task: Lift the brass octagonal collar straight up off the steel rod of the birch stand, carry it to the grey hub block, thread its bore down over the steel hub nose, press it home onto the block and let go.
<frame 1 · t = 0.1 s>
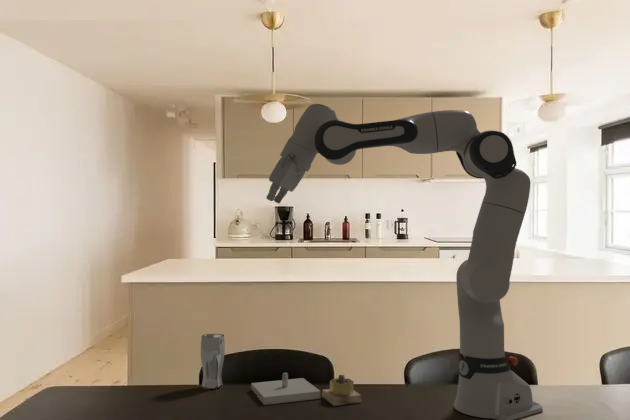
hand: (272, 201, 144), 54 cm above the table, tool tilted 30°, fingers open, 8 cm apart
stand: (341, 399, 142), on the table
hub block: (284, 394, 146), on the table
collar: (341, 392, 142), point 2 cm above the table, touching stand
beer glass: (212, 387, 153), on the table
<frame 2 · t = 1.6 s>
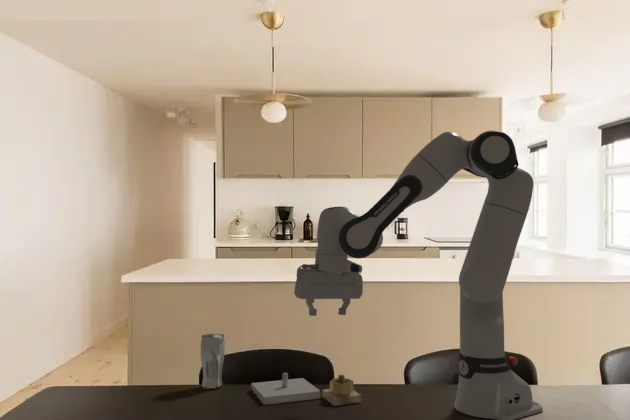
hand: (327, 315, 143), 23 cm above the table, tool pointing down, fingers open, 8 cm apart
nothing on the table moved.
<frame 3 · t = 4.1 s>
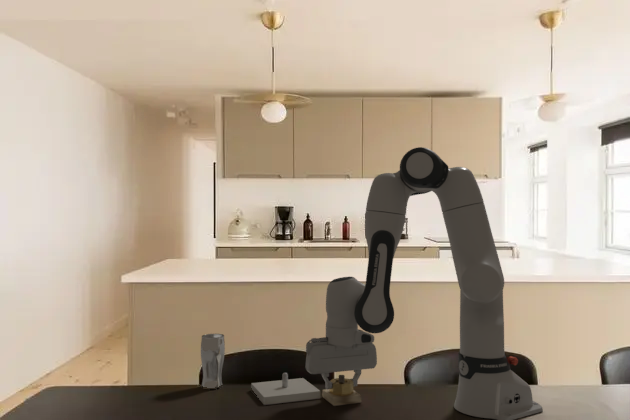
hand: (341, 387, 142), 3 cm above the table, tool pointing down, fingers closed on collar, 6 cm apart
collar: (341, 392, 142), point 2 cm above the table, touching gripper, stand
everything else where it was.
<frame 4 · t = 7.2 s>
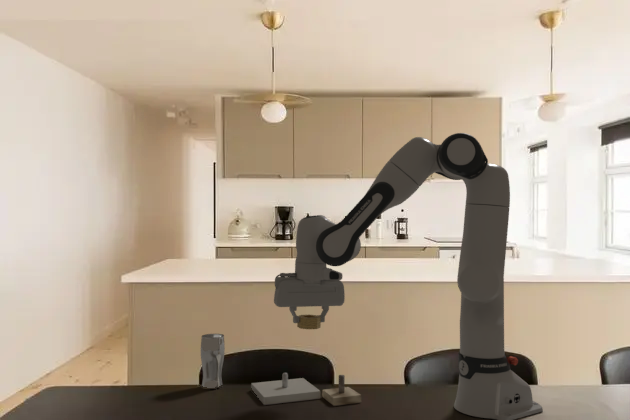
hand: (308, 322, 145), 20 cm above the table, tool pointing down, fingers closed on collar, 6 cm apart
collar: (308, 327, 145), point 19 cm above the table, touching gripper
everything else where it was.
when the fingers open (3 cm above the table, at t = 10.7 s): collar stays where it is, resting on hub block.
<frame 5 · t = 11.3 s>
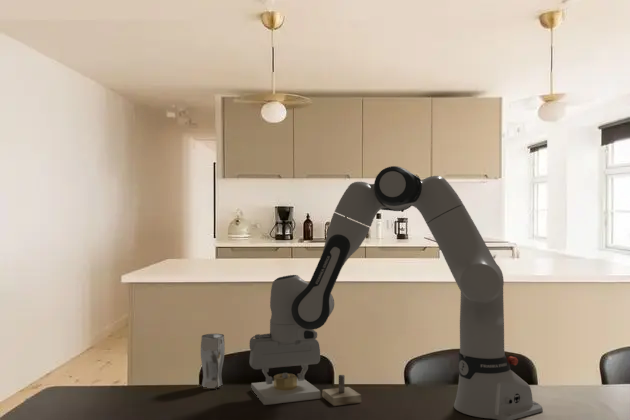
hand: (285, 382, 146), 3 cm above the table, tool pointing down, fingers open, 8 cm apart
collar: (285, 387, 146), point 2 cm above the table, touching hub block
everything else where it was.
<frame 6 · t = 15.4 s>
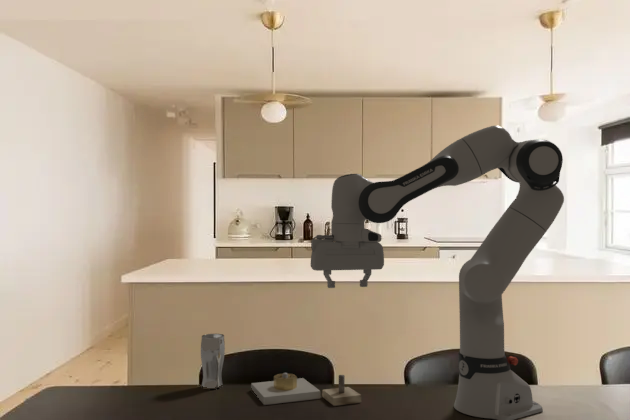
hand: (347, 287, 137), 31 cm above the table, tool pointing down, fingers open, 8 cm apart
nothing on the table moved.
at the end: collar 0.1 cm off-centre on the hub block, point 2.0 cm above the hub block's base; collar tilted 0°; the gripper is holding nothing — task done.
